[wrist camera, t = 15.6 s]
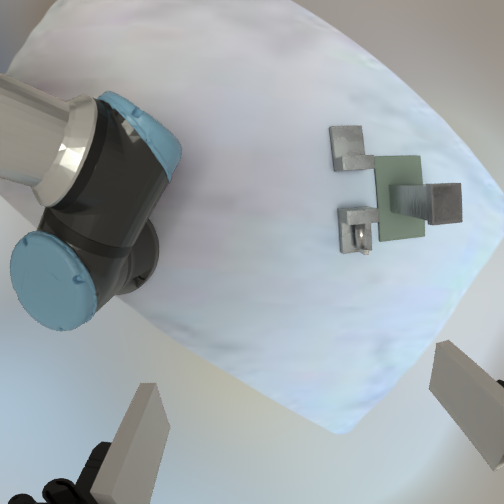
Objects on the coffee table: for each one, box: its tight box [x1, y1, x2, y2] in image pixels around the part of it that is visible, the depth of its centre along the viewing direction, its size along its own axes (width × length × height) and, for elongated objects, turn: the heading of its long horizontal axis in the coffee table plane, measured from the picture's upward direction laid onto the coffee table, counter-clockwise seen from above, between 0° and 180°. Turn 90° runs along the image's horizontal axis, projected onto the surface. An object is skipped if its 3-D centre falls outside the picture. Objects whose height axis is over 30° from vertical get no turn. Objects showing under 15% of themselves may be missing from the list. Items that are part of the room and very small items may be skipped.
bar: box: [389, 183, 462, 225], centre depth 43 cm, size 5×5×14 cm
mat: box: [374, 156, 425, 242], centre depth 50 cm, size 9×14×1 cm, turn 6°
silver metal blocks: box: [329, 126, 379, 255], centre depth 47 cm, size 5×20×6 cm, turn 6°
